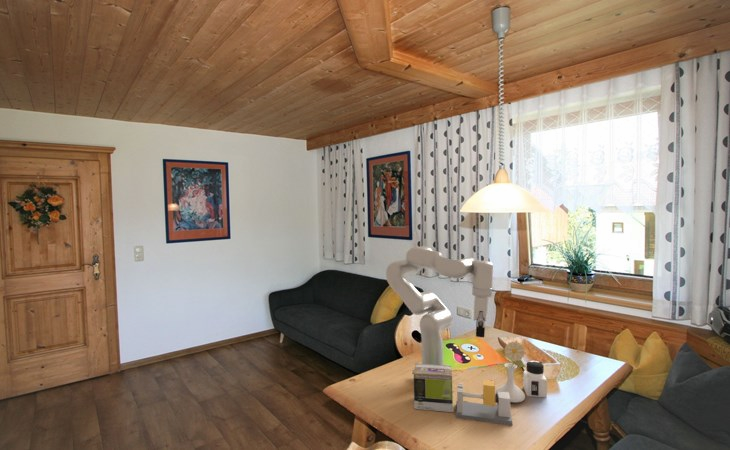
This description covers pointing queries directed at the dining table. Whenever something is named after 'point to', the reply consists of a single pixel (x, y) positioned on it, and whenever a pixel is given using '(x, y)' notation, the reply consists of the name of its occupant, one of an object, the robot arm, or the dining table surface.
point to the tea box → (433, 387)
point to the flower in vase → (513, 353)
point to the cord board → (483, 408)
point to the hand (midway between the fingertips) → (480, 332)
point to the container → (535, 380)
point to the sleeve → (489, 392)
